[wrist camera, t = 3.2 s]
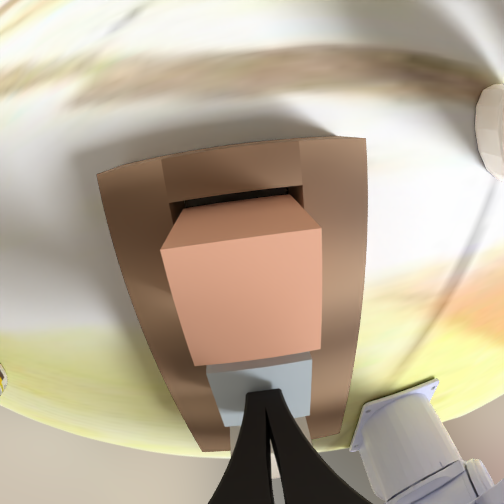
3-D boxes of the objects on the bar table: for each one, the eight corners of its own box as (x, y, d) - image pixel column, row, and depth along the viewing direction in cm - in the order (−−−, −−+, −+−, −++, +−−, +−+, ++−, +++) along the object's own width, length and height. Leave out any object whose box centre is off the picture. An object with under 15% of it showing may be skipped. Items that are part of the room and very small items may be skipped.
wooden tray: (329, 403, 20) (339, 432, 17) (203, 420, 20) (202, 451, 17) (337, 136, 12) (365, 138, 9) (123, 164, 12) (96, 174, 9)
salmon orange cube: (295, 286, 12) (320, 349, 9) (202, 299, 12) (194, 366, 8) (289, 194, 11) (321, 228, 7) (183, 208, 11) (159, 249, 7)
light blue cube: (294, 359, 15) (309, 415, 12) (224, 369, 15) (225, 426, 12) (292, 302, 14) (312, 359, 10) (210, 313, 14) (206, 373, 10)
